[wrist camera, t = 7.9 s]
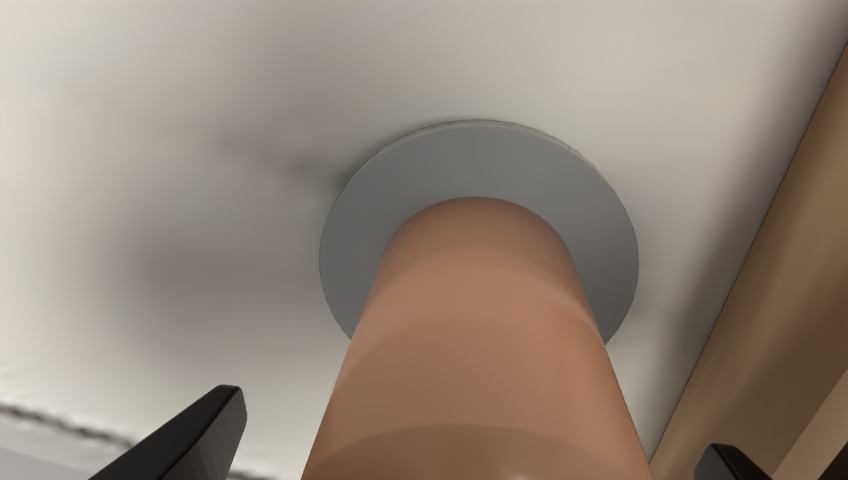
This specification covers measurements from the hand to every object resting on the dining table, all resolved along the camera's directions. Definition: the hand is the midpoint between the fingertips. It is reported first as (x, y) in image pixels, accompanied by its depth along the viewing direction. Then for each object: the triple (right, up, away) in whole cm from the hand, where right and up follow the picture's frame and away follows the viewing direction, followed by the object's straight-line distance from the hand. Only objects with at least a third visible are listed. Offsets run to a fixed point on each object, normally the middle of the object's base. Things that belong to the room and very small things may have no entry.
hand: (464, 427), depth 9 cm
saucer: (+1, +3, +5) cm, 6 cm away
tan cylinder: (+1, +2, +4) cm, 5 cm away
